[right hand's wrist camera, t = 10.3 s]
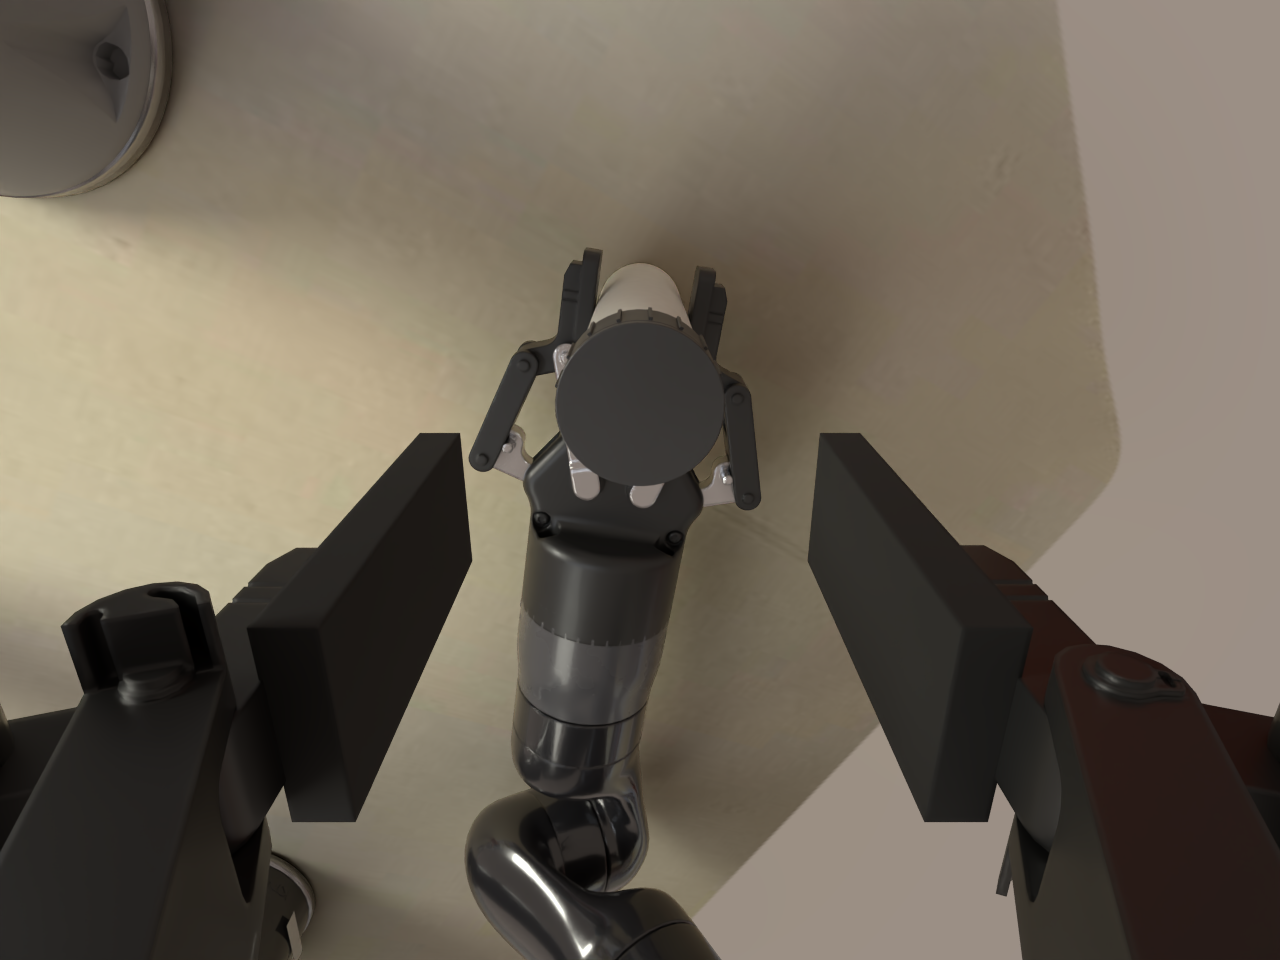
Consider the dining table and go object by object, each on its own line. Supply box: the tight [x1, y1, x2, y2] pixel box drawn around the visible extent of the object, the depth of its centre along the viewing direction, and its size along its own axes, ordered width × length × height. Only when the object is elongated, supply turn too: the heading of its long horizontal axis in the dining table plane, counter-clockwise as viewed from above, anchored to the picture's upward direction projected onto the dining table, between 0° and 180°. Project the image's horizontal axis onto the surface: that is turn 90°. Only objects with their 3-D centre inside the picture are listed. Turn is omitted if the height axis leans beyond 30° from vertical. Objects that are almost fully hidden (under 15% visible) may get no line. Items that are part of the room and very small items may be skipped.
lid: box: [555, 307, 726, 486], centre depth 21 cm, size 5×5×2 cm
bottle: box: [588, 263, 692, 329], centre depth 29 cm, size 4×4×18 cm
